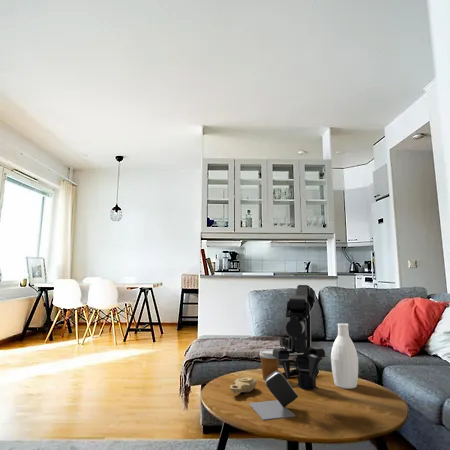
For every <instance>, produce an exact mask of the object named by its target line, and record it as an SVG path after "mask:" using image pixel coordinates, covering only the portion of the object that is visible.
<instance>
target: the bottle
mask: <svg viewBox="0 0 450 450" xmlns="http://www.w3.org/2000/svg"><path fill="white" fill-rule="evenodd" d="M349 333H350V332H349V323H345V322H341V323H340V322H339V323H337V336H336V338H335V340H334V342H333V343H332V347H331V354H330V362H331V373H332V377H333V382H334V383H333V384H334V385H335V386H336V387H338V388H341V389H348V390H349V389H350V390H351V389H355V388H357V386H358V378H359V358H358V357H359V355H358V352H357V349H356V346H355V344H354V342H353V340H352V338H351V337H350V334H349Z"/></svg>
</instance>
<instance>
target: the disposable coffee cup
mask: <svg viewBox="0 0 450 450" xmlns="http://www.w3.org/2000/svg"><path fill="white" fill-rule="evenodd" d="M273 350H274V349H269V348H267V349H261V350H260V352H259V358H260V363H261V364H260V365H261V373H262V380H264V381H265V379H266V378H267V377H268V376H269V375H270V374H272V373H273V372H275V371H277V370H278V371H279V363H280V360H278V359H276V358H275V357H273Z"/></svg>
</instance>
